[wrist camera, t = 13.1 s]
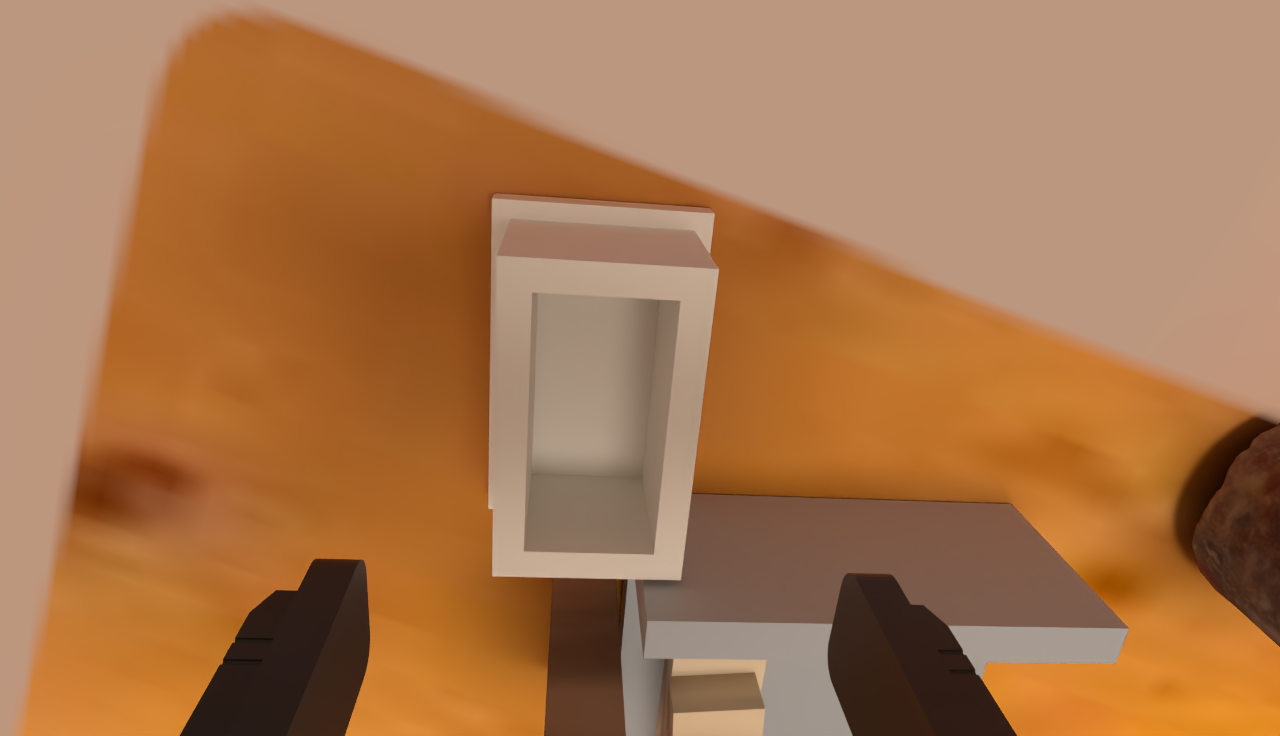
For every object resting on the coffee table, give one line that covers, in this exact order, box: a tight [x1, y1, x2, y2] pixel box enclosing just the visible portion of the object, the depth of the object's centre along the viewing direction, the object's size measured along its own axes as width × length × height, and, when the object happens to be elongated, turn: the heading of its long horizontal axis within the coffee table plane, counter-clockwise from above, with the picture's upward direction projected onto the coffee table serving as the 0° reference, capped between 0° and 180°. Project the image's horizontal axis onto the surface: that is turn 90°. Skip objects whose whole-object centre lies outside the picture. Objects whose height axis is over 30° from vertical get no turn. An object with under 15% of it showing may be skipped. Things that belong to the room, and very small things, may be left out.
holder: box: [488, 193, 719, 580], centre depth 22 cm, size 10×6×5 cm, turn 175°
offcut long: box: [656, 659, 767, 736], centre depth 27 cm, size 9×3×2 cm, turn 175°
